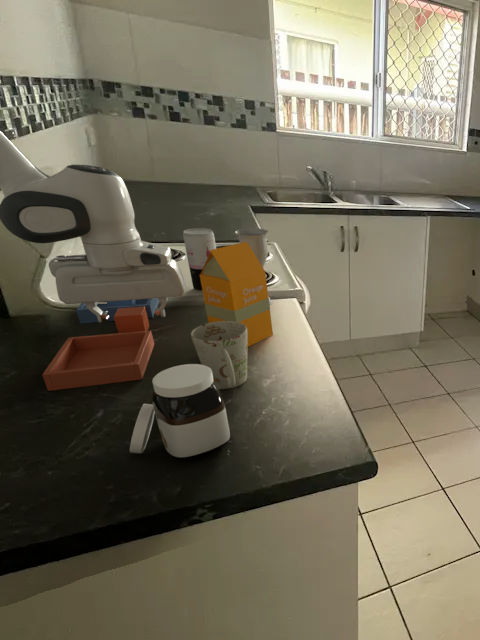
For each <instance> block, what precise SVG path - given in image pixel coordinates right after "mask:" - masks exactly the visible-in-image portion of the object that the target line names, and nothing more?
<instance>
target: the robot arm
mask: <svg viewBox="0 0 480 640" xmlns="http://www.w3.org/2000/svg"><path fill="white" fill-rule="evenodd" d="M0 190H1V191H2V194H3V198H2V200H1V202H0V222H1V223H2V225H3V227H5V229H6V230H7V231H8V232H10V233H11V234H12V235H14V236H15V237H17V238H18V239H21V240H23V241H26V242H30V243H34V244H51V243H57V242H62V241H68V240H73V239H77V238H80V240H81V243H82V247H83V250H84V253H85V254H73V255H65V254H62V255H56V256H55V257H54V258H51V259H50V260H49V262H48V267H49V271H50V274H51V275H52V276H53V277H54V278H55V286H56V292H57V296H58V299H59V301H61V302H62V303H64V304H65V305H76V304H77V305H78V304H81V303H86V307H87V308H88V309H89V310H90V311H91V312H93V313H94V314H95V315H97V318H98V321H99V322H98V323H99V324H100V323H109V322H110V321H109V320H110V317H109V316H108V311H102V310H101V309H100V308H98V307H97V306H96V305H97V304H98V302H108V301H122V300H137V299H151V298H158V300H159V304H160V306H157V308H155V310H154V311H155V314H154V315H155V318H156V319H159V318H165V317H166V310H165V307H166V306H167V303H168V300H169V298H181V297H182V296H184V294H185V293H186V290H187V284H186V280H185V277H184V274H183V272H182V269H181V267H180V265H179V264H178V262H177V261H176V260H174V259H173V258H172V256H173V255H172V250H171V248H170V247H169V246H166V245H163V244H159V243H153V242H148V241H144V240H142V239H141V236H140V232H139V231H138V230H137V228H136V225H135V224H136V223H135V219H136V218H135V217H136V216H135V210H134V207H133V203H132V199H131V196H130V193H129V191H128V188H127V186H126V183H125V181H124V180H123V179H122V177H121V176H119V174H117V173H116V172H115V171H112V170H110V169H108V168H104V167H100V166H95V165H89V164H70V165H66V166H65V167H64V168H63V169H62V170H60V171H58V172H56V173H55V174H52V175H49V174H47V173H45V172H43V171H42V170H41V169H39V168H38V167H36V165H34V164H33V162H32V161H30V160H29V159H28V157H26V156H25V154H24V153H23V152H22V151H21V150H20V149H19V148H18V146H16V145H15V144H14V143H13V142H12V141H11V140H10V138H9V137H8V136H7V135H5V133H4V132H3V131H2V130H1V129H0Z"/></svg>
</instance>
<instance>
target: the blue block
mask: <svg viewBox="0 0 480 640" xmlns="http://www.w3.org/2000/svg"><path fill="white" fill-rule="evenodd" d="M136 304H137V300H122V301H108V302H107V305H108V307H112V306H127V305H136Z"/></svg>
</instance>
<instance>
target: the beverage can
mask: <svg viewBox="0 0 480 640" xmlns="http://www.w3.org/2000/svg"><path fill="white" fill-rule="evenodd" d="M182 232H183V234H182V238H183V242H184V247H185V254H186V258H187V263H188V267H189V268H188V269H189V272H190V277H191V283H192V287H193V290H195V291H197V292H199V293H203V291H202V285H201V280H200V274H201V272H202V270H203V267H204V265H205V263H206V260H207V258H208V256H209V253H210V250H213V249H217V244H216V238H215V233H214V232H213V229H209V228H201V227H199V228H188V229H185V230H183V231H182Z"/></svg>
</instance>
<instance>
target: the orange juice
mask: <svg viewBox="0 0 480 640" xmlns="http://www.w3.org/2000/svg"><path fill="white" fill-rule="evenodd" d="M200 280H201V285H202V291H203V292H202V296H203V300H204V308H205V313H206V318H207V323H211V322H218V321H235V322H240V323H242V324H244V325H245V326H246V327H247V348H248V347H250V346H252V345H254V344H256V343H259V342H261V341H263V340H264V339H267V338H269V337H271V336H273V334H274V333H273V332H274V331H273V324H272V316H271V305H270V304H269V298H270V297H269V298H268V296H269V292H268V284H267V283H268V282H267V275H266V270H265V269H264V267H262V265H261V264H260V262H259V261H258V259H257V257H256V256H255V254H254V253H253V251H252V249H251V248H250V246H249V245H248V243H247V242H243V243H234V244H231V245H226V246H222V247H218V248H217V247H216V249H213V250H210V253H209V256H208V258H207V260H206V263H205V265H204V267H203V270H202V272H201V274H200Z"/></svg>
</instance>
